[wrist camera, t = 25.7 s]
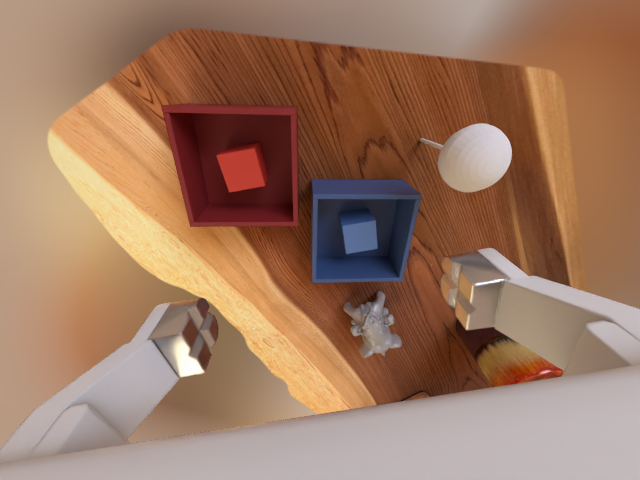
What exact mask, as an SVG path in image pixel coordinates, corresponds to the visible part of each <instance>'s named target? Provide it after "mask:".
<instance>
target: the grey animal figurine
mask: <svg viewBox="0 0 640 480" xmlns="http://www.w3.org/2000/svg"><path fill="white" fill-rule="evenodd" d="M384 300H385V295H384V293H383V292H381V291H378V292H377V293H376V299H375V302H366V304H364V305H363V304H360V305H359V307H357V308H354V307H353V306H351V304H350V303H348V302H346V303H345V304H344V306H343V309H344V311H345V312H346V313H347V314H349V315H350V316H351V317H352V319H351V323H352V324H353V325H354V326H352V327H351V328H350V331H351V333H352V334H353V336H359V335H361V336H362V338H363V341H364V343H362V344H361V346H360V354H361V356H362V357H363V358H366V357H368V356H371V355H372V354H373V353H381V354H382V355H383V356H385V351H387V349H388V348H397V347H401V345H402V341H401V339H400V337H399V336H398V335H396V334H390V330H389V327H388V326H389V325H391V324H394V318H393V315H391V314H388V313H389V311H388V309H387V308H385V307H383V305H384ZM388 322H389V323H388ZM357 330H358V332H359V333H358V332H357Z"/></svg>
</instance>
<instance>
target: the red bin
mask: <svg viewBox="0 0 640 480" xmlns="http://www.w3.org/2000/svg"><path fill="white" fill-rule="evenodd" d="M161 107H162V111H163V112H164V113H163V115H164V119H165V123H166V127H167V132H168V136H169V140H170V144H171V148H172V152H173V156H174V161H175V165H176V169H177V173H178V177H179V181H180V185H181V190H182V194H183V198H184V202H185V206H186V210H187V215H188V219H189V223H190V227H208V226H298V219H299V179H298V116H297V106H260V105H220V104H177V105H164V106H161ZM256 142H260V143H261V147H262V150H263V154H264V158H265V162H266V165H267V169H268V173H269V178H268V180H267V183H266V185H265V186H263V187H257V188H252V189H246V190H241V191H235V192H229V190H228V188H227V185H226V182H225V179H224V176H223V173H222V171H221V168H220V165H219V162H218V159H217V156H216V155H217V154H219V153H220V152H222V151H223V150H225V149H226V148H230V147H235V146H240V145H246V144H251V143H256Z"/></svg>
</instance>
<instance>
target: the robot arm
mask: <svg viewBox="0 0 640 480" xmlns="http://www.w3.org/2000/svg"><path fill="white" fill-rule="evenodd" d="M441 268H442V269H443V270H444V271H445V272H444V274H443V275H442V276H441V277H440V288H441V292H442V295H443V297H444V299H445V301H446V302H447V304H448V305H450V306H452V307H454V308H456V309H455V315H456V317H457V318H458V320H459V321H460V323H461V324H462V325H463V327H464V328H465V330H466V331H467V330H474V329H482V328H489V327H494V328H495V329H496V330H498V331H500V332H501V333H503V334H505V335H506V336H508V337H509V338H511V339H513V340H514V341H516V342H518V343H519V344H521V345H523V346H524V347H526V348H527V349H529V350H531V351H532V352H534V353H536V354H537V355H539V356H540V357H542V358H544V359H545V360H547V361H549V362H550V363H552V364H553V365H555V366H557V367H558V368H560V369H562V370H563V371H564V372H563V374H562V376H561V377H556V378H549V379H543V380H536V381H530V382H523V383H517V384H510V385H504V386H497V387H491V388H485V389H478V390H472V391H465V392H459V393H453V394H446V395H440V396H433V397H427V398H420V399H414V400H408V401H401V402H395V403H388V404H382V405H376V406H369V407H363V408H356V409H350V410H343V411H337V412H330V413H324V414H318V415H312V416H305V417H298V418H291V419H285V420H279V421H272V422H266V423H259V424H253V425H246V426H240V427H233V428H227V429H220V430H214V431H208V432H201V433H194V434H188V435H181V436H175V437H168V438H162V439H155V440H149V441H143V442H136V443H130V442H129V441H128V440H127V439H128V438H129V437H130V436H131V435H132V433H133V432H134V431H135V430H136V429H137V428H138V427H139V425H140V424H141V423H142V422H143V421H144V420H145V418H146V417H147V416H148V415H149V414H150V413H151V411H152V410H153V409H154V408H155V407H156V406H157V405H158V403H159V402H160V401H161V400H162V399H163V398H164V396H165V395H166V394H167V393H168V392H169V391H170V389H171V388H172V387H173V386H174V385H175V384H176V383H177V381H178V380H179V378H181V377H186V376H191V375H197V374H202V373H205V372H206V369H207V366H208V363H209V360H210V357H211V353H210V350H209V349H210V348H211V347H212V346H213V345H214V344H215V343H216V340H217V337H218V324H217V320H216V318H215V316H214V315H212V314H210V313H209V312H208V309H209V305H208V303H207V301H206V299H204V298H197V299H190V300H184V301H177V302H172V303H166V304H160V305H158V306H156V307H155V308H154V309H153V311H152V312H151V314H150V315H149V317H148V318H147V319H146V321H145V322H144V323H143V325H142V326H141V328H140V329H139V331H138V332H137V333H136V335H135V336H134V338H133V339H132V341H131V342H130V343H128V344H124V345H123V346H121V347H120V348H119V349H117V350H116V351H114V352H113V353H112V354H110V355H109V356H108V357H106V358H105V359H103V360H102V361H101V362H99V363H98V364H96V365H95V366H94V367H92V368H91V369H90V370H88V371H87V372H85V373H84V374H83V375H81V376H80V377H79V378H77V379H76V380H74V381H73V382H72V383H70V384H69V385H68V386H66V387H65V388H63V389H62V390H61V391H59V392H58V393H56V394H55V395H54V396H52V397H51V398H50V399H48V400H47V401H46V402H44V403H43V404H41V405H40V406H39V407H37V408H36V409H34V410H33V411H32V412H31V414H30V415H29V416H28V417H27V418H26V420H25V421H24V422H23V423H22V424H21V425H20V426H19V428H18V429H17V430H16V431H15V432H14V433H13V434H12V436H11V437H10V438H9V439H8V440H7V442H6V443H5V444H4V445H3V446H2V447H1V448H0V480H640V309H638V308H634V307H631V306H628V305H625V304H622V303H619V302H615V301H612V300H609V299H606V298H603V297H600V296H597V295H593V294H590V293H587V292H584V291H581V290H578V289H575V288H572V287H568V286H565V285H562V284H559V283H556V282H553V281H550V280H546V279H543V278H540V277H537V276H528V275H526V274H525V273H524V272H523V271H521V270H520V269H519V268H518V267H516V266H515V265H514V264H512V263H511V262H510V261H509V260H507V259H506V258H505V257H504V256H502V255H501V254H500V253H499V252H497V251H496V250H495V249H493V248H485V249H480V250H475V251H473V252H467V253H461V254H456V255H450V256H444V257H443V259H442V262H441Z"/></svg>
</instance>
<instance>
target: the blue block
mask: <svg viewBox="0 0 640 480" xmlns="http://www.w3.org/2000/svg"><path fill="white" fill-rule="evenodd" d="M338 214H339V221H340V228H341V235H342V240H343V244H344V248H345V252H346V254H350V253H356V252H361V251H367V250H373V249H378V247H377V233H376V220H375V219H374V217H373V215H372V213H371V212H370V210H369V208H364V209H358V210H353V211H347V212H341V213H338Z"/></svg>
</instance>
